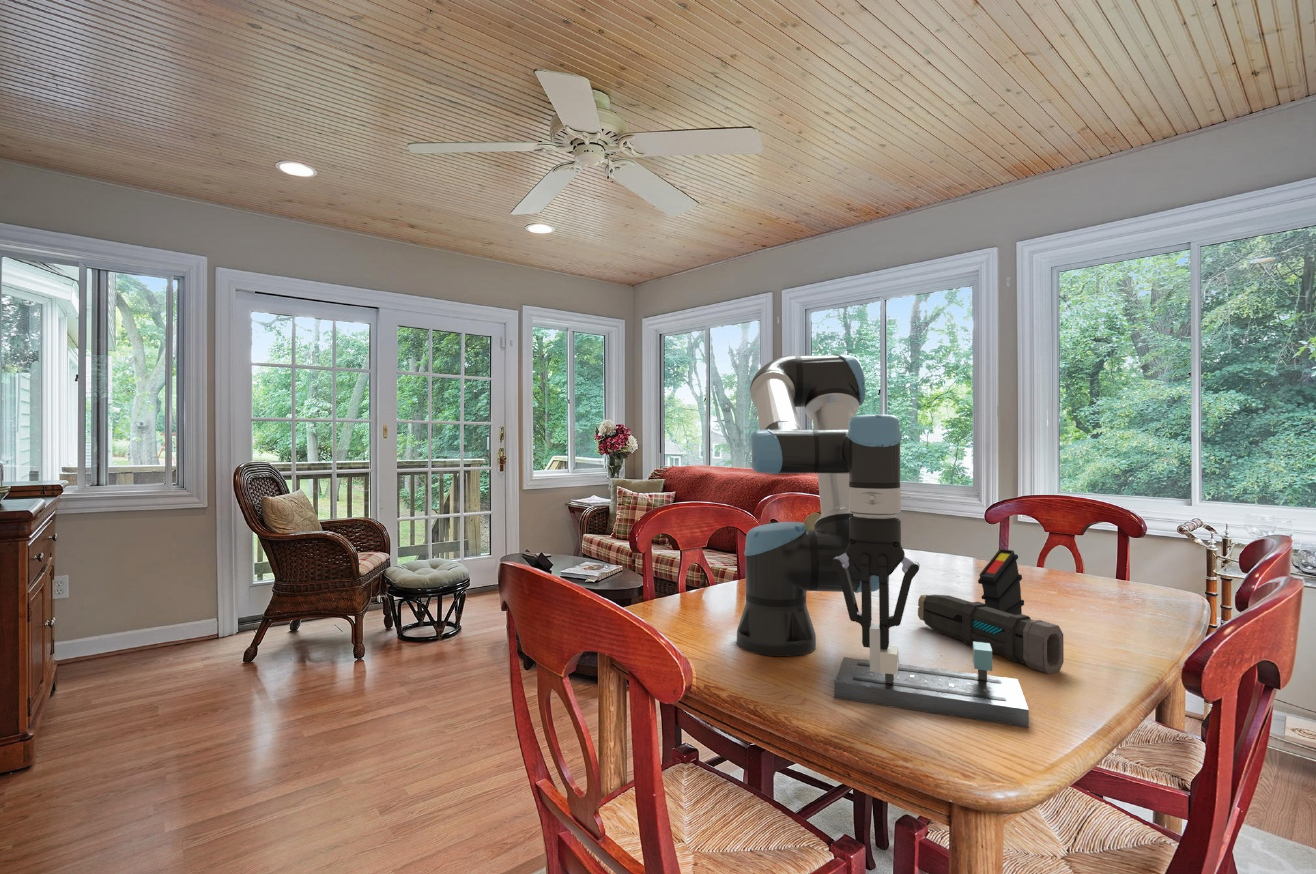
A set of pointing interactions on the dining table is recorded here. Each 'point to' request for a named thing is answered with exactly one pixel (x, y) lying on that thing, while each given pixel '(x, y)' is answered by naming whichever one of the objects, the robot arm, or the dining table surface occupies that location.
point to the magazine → (1002, 583)
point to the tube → (996, 630)
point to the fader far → (982, 659)
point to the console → (935, 692)
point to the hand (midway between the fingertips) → (875, 668)
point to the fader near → (889, 663)
